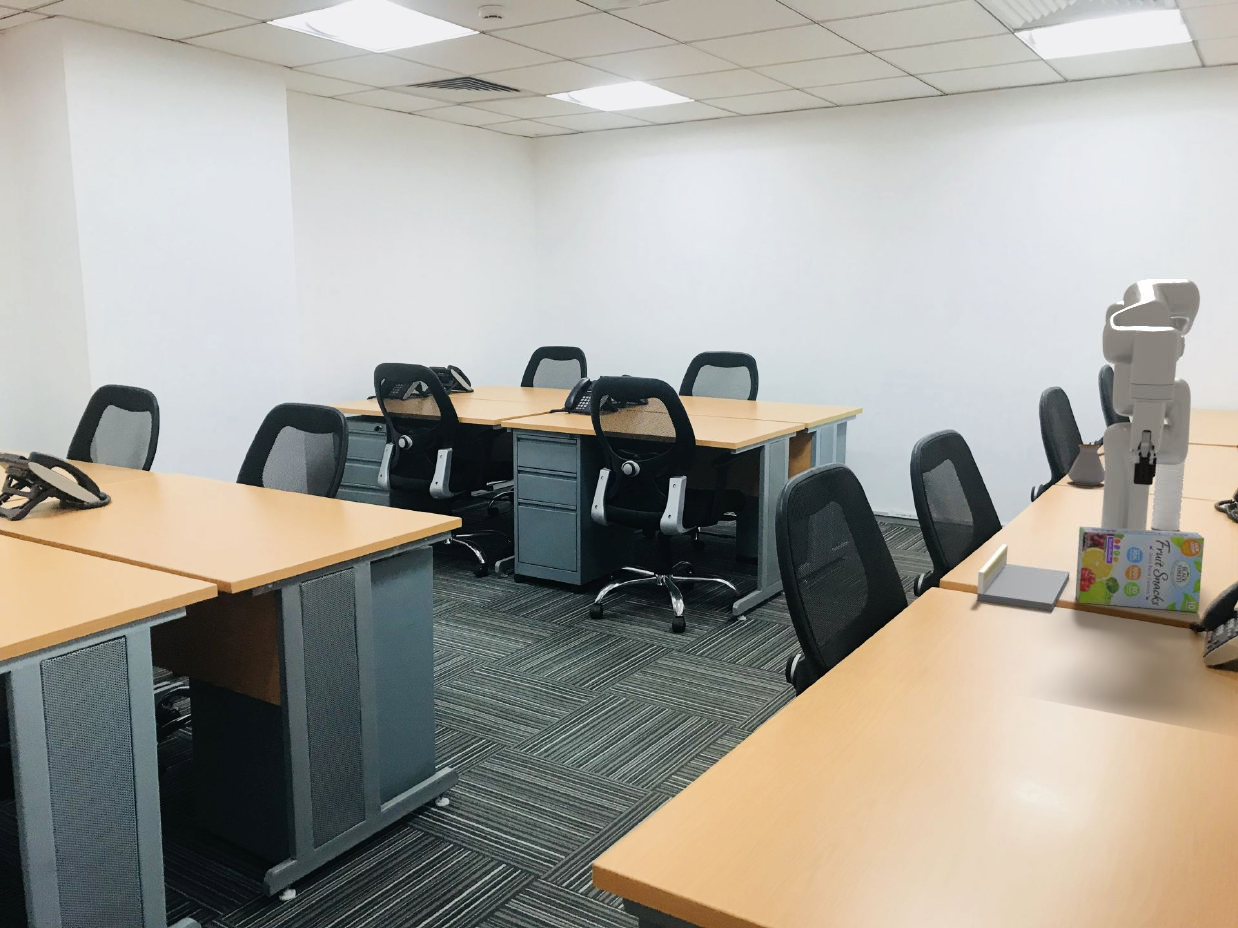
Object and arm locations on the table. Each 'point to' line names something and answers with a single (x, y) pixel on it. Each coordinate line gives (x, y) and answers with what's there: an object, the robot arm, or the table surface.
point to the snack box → (1139, 568)
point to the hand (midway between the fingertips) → (1144, 480)
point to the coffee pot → (1087, 466)
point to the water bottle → (1167, 497)
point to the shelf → (1019, 583)
